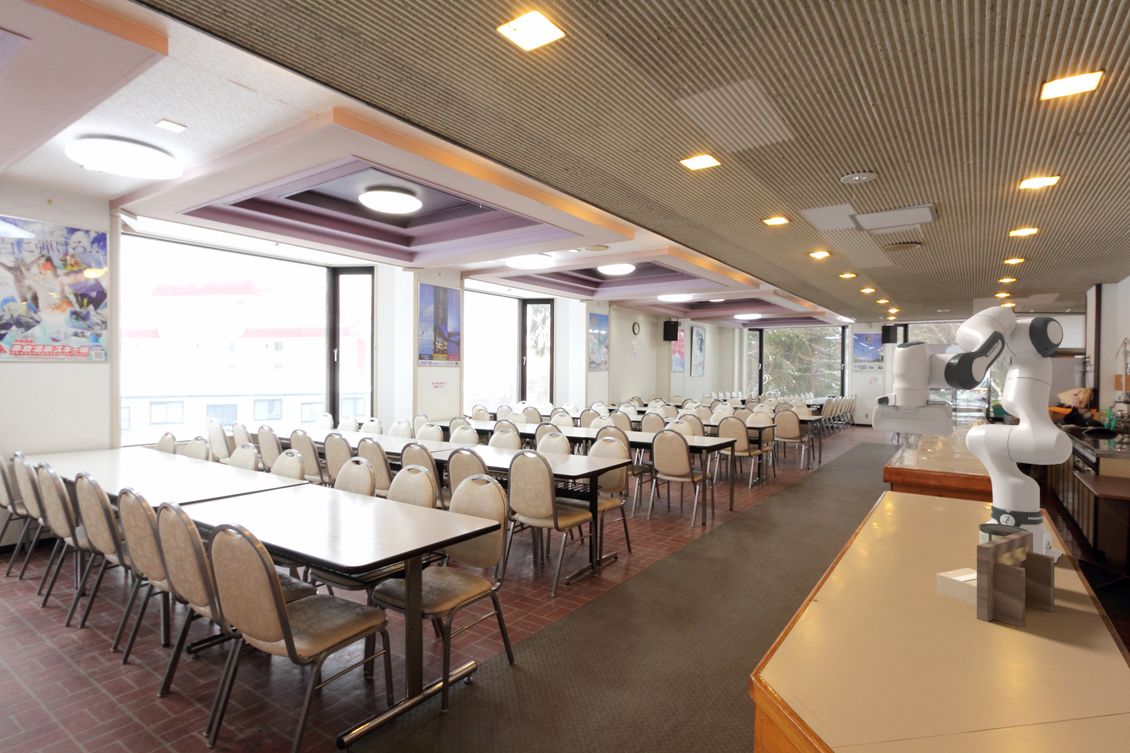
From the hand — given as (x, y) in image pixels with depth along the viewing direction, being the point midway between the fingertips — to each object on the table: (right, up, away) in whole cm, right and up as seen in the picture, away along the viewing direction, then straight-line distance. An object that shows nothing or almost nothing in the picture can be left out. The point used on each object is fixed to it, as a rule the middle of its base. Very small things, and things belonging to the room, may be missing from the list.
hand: (910, 449), depth 158 cm
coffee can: (+18, -33, -10) cm, 39 cm away
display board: (+6, -33, -29) cm, 45 cm away
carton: (+3, -33, -20) cm, 39 cm away
